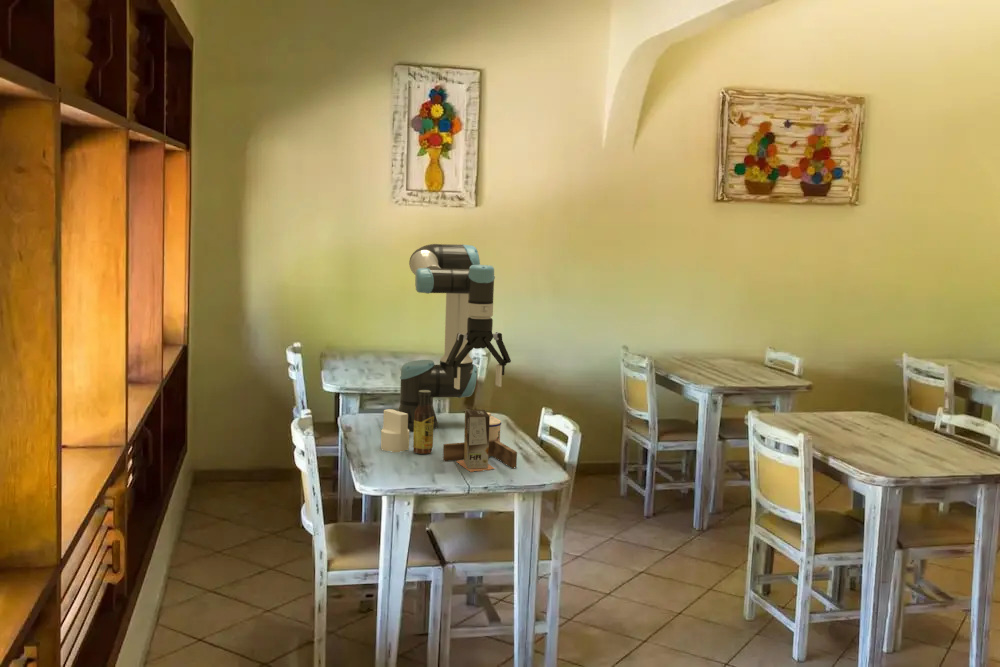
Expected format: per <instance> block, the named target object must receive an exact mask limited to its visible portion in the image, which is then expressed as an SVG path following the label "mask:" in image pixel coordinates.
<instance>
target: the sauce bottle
mask: <svg viewBox="0 0 1000 667" xmlns="http://www.w3.org/2000/svg"><path fill="white" fill-rule="evenodd" d="M418 395H419V403H418V404H419V405H418V407H417V408H416V410H415V418H414V431H413V434H412V435H413V439H412V442H413V443H412V447H413V453H415V454H417V453H418V454H420V455H427V454H431V453H432V451H433V445H434V429H433V425H434V415H433V411H432V408H431V405H430V404H431V403H430V397H431V391H429V390H420V391H419V393H418Z"/></svg>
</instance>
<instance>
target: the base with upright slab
mask: <svg viewBox="0 0 1000 667" xmlns="http://www.w3.org/2000/svg"><path fill="white" fill-rule="evenodd" d="M382 416H383V422H382V423H383V425H382V426H383V427H382V429H381V432H380V435H381V436H380V445H381V446H380V449H381V450H382V449H383V450H385V451H384V452H387V451H392V452H391V453H401V452H400V451H403V452H406V451H405V450H407V451H409V450H410V431H409V429H408V414H407V413H403V412H400V411H398V410H395V409H392V408H388V409H384V410H383V415H382ZM383 450H382V451H383Z"/></svg>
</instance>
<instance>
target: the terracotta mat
mask: <svg viewBox="0 0 1000 667" xmlns="http://www.w3.org/2000/svg"><path fill="white" fill-rule="evenodd" d="M455 461H456V463H457V464H458V463H459V464H458V465H460V466H461V467H462V466H463V469H465V468H466V469H465V470H466V471H468V472H469V471H470V472H469V473H475V472H474V471H477V472H484V471H483V470H487V471H492V470H491V469H495V470H496V468H495V467H494V466H492V465H490V464H489V463H488V468H474V469H468V467H467V466H466V464H465V462H464V459H462V460H455Z"/></svg>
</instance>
